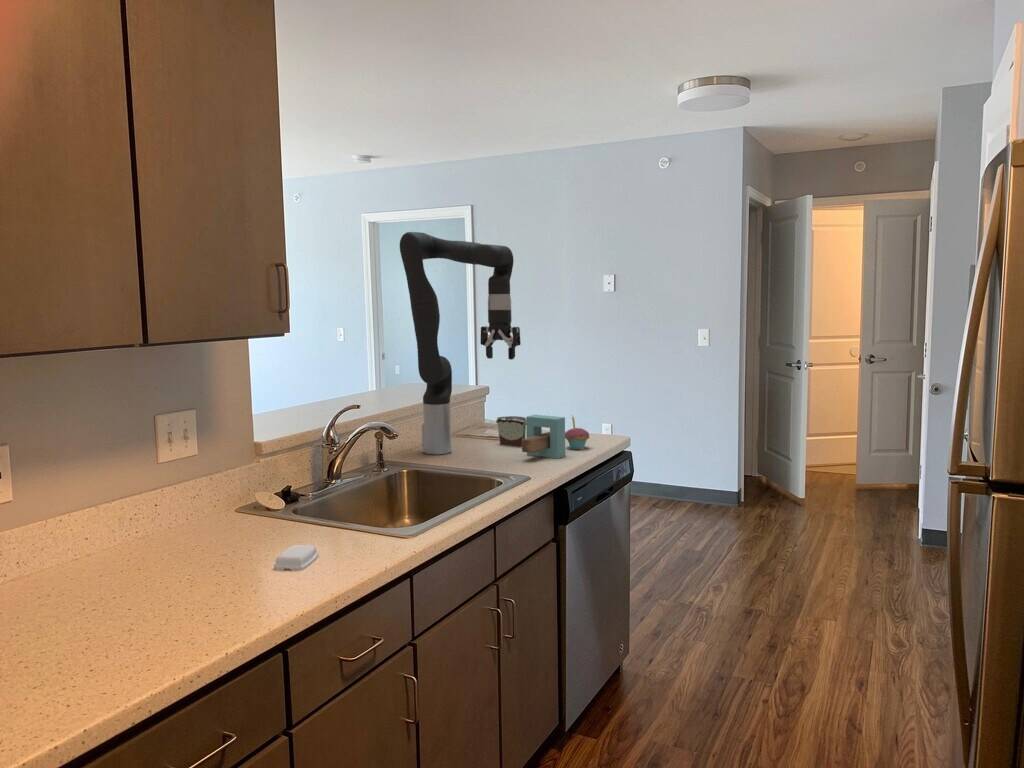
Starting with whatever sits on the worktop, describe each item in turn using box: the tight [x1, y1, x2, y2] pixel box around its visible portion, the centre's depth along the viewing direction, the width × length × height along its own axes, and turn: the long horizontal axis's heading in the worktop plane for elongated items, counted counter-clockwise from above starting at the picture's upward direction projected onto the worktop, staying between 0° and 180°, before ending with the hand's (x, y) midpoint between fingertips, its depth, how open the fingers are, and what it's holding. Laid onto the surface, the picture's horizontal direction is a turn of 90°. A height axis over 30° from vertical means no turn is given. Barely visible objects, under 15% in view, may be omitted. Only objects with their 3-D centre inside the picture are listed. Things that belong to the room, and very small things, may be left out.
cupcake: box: [565, 414, 590, 450], centre depth 261 cm, size 9×8×12 cm
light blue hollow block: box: [525, 414, 566, 460], centre depth 250 cm, size 12×5×13 cm, turn 55°
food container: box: [495, 415, 527, 448], centre depth 269 cm, size 12×6×10 cm, turn 58°
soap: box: [273, 544, 320, 571], centre depth 153 cm, size 9×7×3 cm
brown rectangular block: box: [521, 431, 550, 454], centre depth 250 cm, size 4×20×4 cm, turn 145°
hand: (500, 358), depth 242 cm, fingers open, 8 cm apart
